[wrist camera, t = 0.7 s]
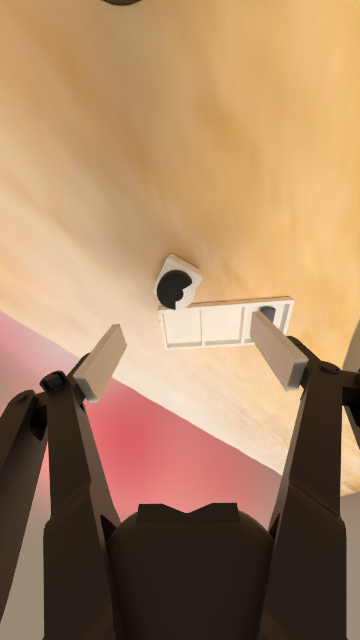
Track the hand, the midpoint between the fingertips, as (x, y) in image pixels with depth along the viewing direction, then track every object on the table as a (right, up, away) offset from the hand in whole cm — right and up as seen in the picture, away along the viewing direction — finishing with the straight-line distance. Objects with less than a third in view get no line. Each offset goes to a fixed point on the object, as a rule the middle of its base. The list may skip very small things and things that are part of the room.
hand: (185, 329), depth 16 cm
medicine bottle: (-1, +11, +19) cm, 22 cm away
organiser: (+10, 0, +24) cm, 26 cm away
